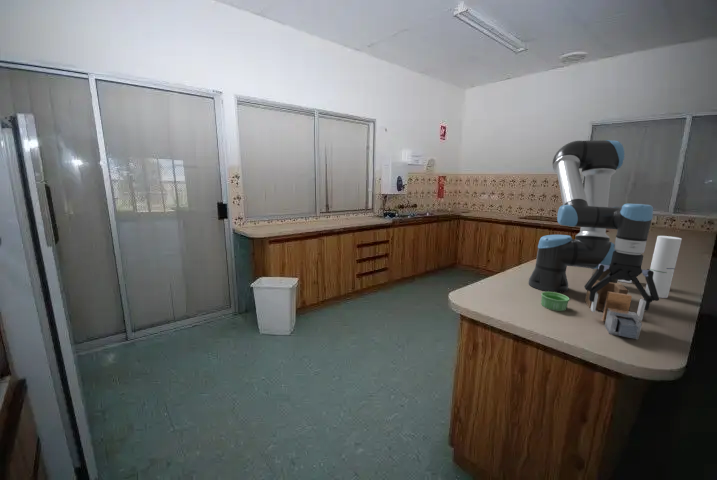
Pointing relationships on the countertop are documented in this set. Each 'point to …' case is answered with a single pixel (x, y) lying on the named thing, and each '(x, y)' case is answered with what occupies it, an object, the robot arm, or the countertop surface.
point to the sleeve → (612, 320)
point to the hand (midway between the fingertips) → (615, 314)
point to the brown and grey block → (624, 323)
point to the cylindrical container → (664, 263)
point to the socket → (605, 293)
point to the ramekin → (554, 301)
